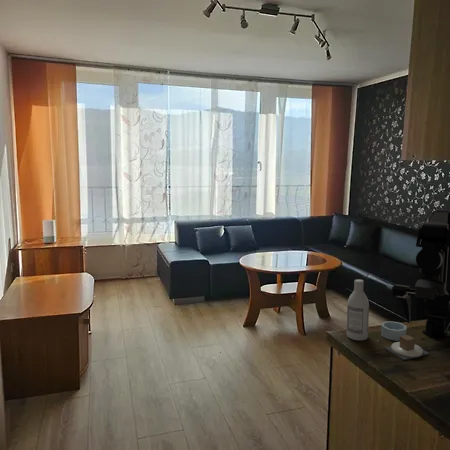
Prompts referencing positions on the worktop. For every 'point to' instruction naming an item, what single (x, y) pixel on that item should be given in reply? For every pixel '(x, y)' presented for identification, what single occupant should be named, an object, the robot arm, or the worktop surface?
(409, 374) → the worktop surface
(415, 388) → the worktop surface
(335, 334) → the worktop surface
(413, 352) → the lid
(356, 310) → the bath foam
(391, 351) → the mat
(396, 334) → the bowl
